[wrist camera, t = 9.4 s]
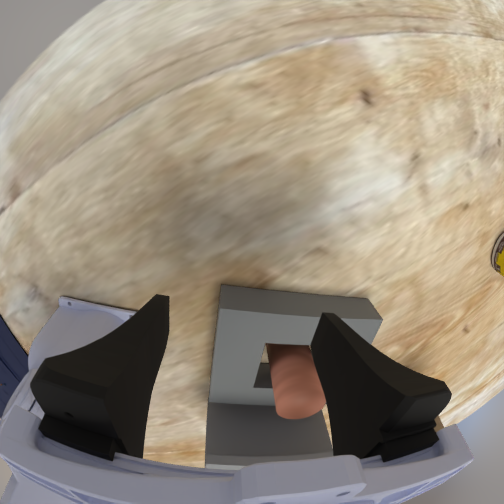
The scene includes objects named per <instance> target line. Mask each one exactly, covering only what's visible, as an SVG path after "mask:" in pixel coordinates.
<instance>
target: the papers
mask: <svg viewBox="0 0 504 504" xmlns="http://www.w3.org/2000/svg"><path fill="white" fill-rule="evenodd" d="M28 372H29V367H28V356H27V355H26V354H25V352H24V351H23V349H22V348H21V347H20V345H19V344H18V343H17V341H16V340H15V338H14V337H13V335H12V334H11V332H10V331H9V329H8V328H7V326H6V325H5V323H4V321H3V320H2V318H1V317H0V418H2V416H3V412H4V410H5V408H6V406H7V404H8V402H9V400H10V398H11V396H12V395H13V393H14V391H15V390H16V388H17V387H18V385H19V384H20V382H21V381H22V379H23V378H24V377H25V375H26V374H27V373H28Z"/></svg>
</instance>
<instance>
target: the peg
mask: <svg viewBox="0 0 504 504" xmlns="http://www.w3.org/2000/svg"><path fill="white" fill-rule="evenodd" d="M266 347H267V354H268V360H269V367H270V373H271V380H272V386H273V393H274V399H275V406H276V412H277V414H278V415H279V416H281V417H283V418H286V419H302V418H306V417H309V416H312V415H314V414H316V413H317V412H319V411H320V410H321V409H322V408H323V407H324V405H325V403H326V399H325V395H324V392H323V389H322V386H321V383H320V380H319V377H318V374H317V371H316V368H315V365H314V361H313V358H312V355H311V352H310V348H309V345H292V344H274V343H266Z"/></svg>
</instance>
